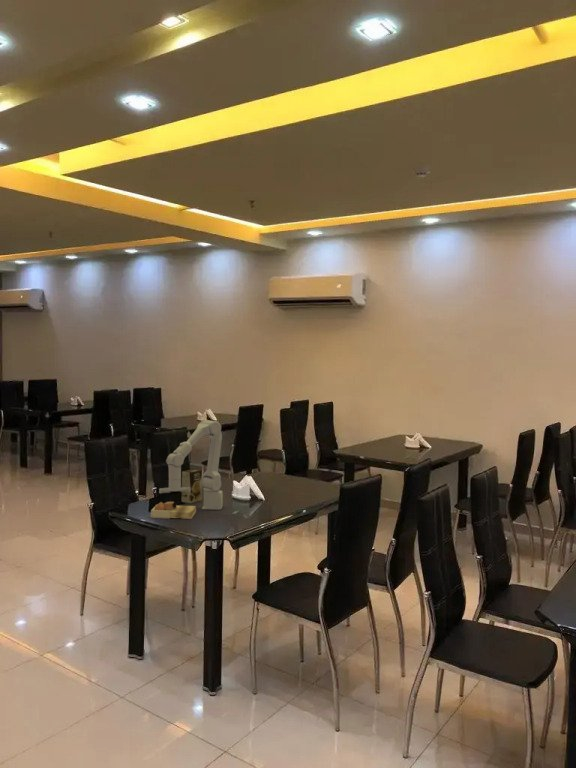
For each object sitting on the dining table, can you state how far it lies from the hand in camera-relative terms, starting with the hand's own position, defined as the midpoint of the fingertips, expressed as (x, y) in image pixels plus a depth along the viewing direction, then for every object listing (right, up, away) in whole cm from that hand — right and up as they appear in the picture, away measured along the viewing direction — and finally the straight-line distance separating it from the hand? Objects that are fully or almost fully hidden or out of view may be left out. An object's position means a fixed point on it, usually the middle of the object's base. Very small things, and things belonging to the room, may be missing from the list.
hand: (174, 507), depth 295 cm
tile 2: (-3, -1, +2) cm, 3 cm away
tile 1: (-6, 0, +1) cm, 6 cm away
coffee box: (+3, -3, +29) cm, 30 cm away
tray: (-5, -4, 0) cm, 7 cm away
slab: (+4, -4, 0) cm, 5 cm away
